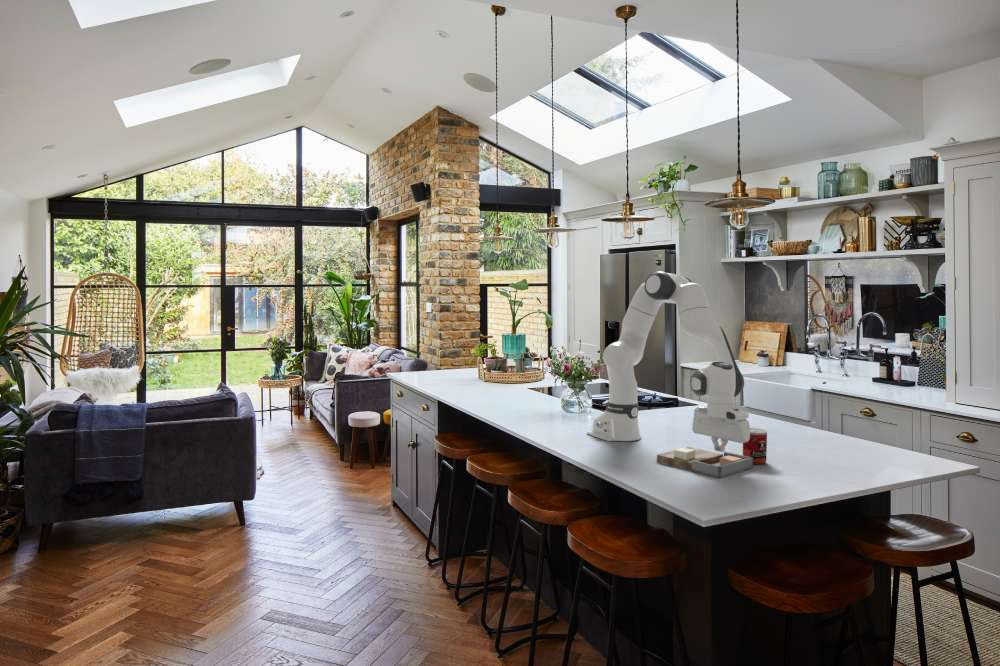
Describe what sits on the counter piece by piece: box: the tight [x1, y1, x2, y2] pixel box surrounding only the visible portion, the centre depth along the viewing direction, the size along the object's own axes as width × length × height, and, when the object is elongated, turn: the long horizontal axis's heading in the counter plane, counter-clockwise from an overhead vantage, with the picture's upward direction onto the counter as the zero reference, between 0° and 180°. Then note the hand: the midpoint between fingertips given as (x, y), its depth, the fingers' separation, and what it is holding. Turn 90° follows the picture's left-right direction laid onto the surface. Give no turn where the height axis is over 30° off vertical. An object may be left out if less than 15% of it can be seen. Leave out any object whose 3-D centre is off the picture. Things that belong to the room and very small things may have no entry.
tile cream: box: [673, 447, 695, 460], centre depth 223 cm, size 5×5×2 cm
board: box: [656, 446, 724, 472], centre depth 227 cm, size 14×18×2 cm
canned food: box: [742, 427, 768, 466], centre depth 226 cm, size 8×8×11 cm
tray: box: [691, 451, 754, 479], centre depth 217 cm, size 10×19×4 cm, turn 128°
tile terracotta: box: [720, 455, 742, 466], centre depth 219 cm, size 5×5×2 cm
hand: (719, 450), depth 222 cm, fingers closed
